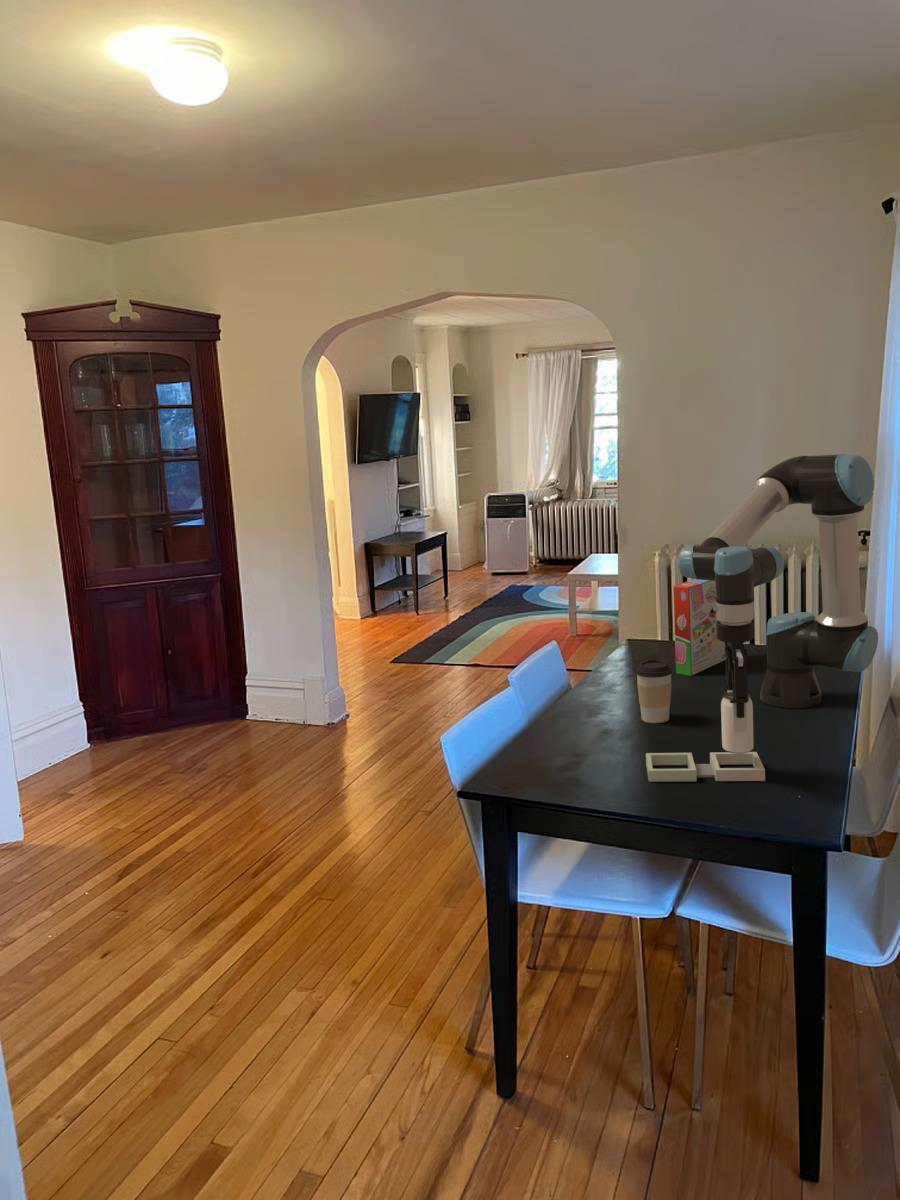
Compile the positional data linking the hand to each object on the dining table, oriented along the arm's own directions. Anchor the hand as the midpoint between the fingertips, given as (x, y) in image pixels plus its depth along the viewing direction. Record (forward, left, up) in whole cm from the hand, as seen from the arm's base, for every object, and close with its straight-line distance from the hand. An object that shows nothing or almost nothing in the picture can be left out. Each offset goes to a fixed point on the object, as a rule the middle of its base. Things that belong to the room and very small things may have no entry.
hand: (737, 724), depth 189 cm
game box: (-2, -81, -11) cm, 81 cm away
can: (0, 0, -6) cm, 6 cm away
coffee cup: (+15, -35, -11) cm, 39 cm away
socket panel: (+7, 0, -11) cm, 13 cm away
